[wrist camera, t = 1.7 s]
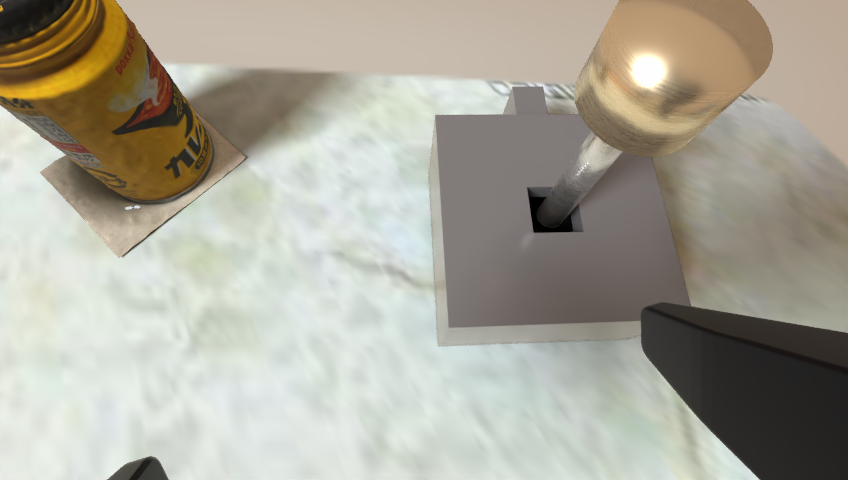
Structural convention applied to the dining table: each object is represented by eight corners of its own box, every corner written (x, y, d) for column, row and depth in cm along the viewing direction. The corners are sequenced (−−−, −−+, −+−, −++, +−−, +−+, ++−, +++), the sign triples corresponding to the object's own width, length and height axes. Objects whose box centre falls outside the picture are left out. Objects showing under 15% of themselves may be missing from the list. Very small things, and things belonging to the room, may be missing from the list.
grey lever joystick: (628, 339, 23) (694, 319, 18) (437, 346, 22) (448, 328, 17) (587, 137, 27) (630, 74, 22) (426, 138, 27) (432, 74, 22)
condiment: (247, 159, 26) (128, -34, 14) (120, 259, 23) (-141, 119, 12) (170, 88, 27) (9, -135, 16) (44, 175, 25) (-253, -18, 14)
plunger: (595, 252, 19) (795, 91, 10) (515, 254, 19) (634, 92, 9) (581, 180, 21) (744, -28, 11) (506, 181, 20) (603, -29, 11)
